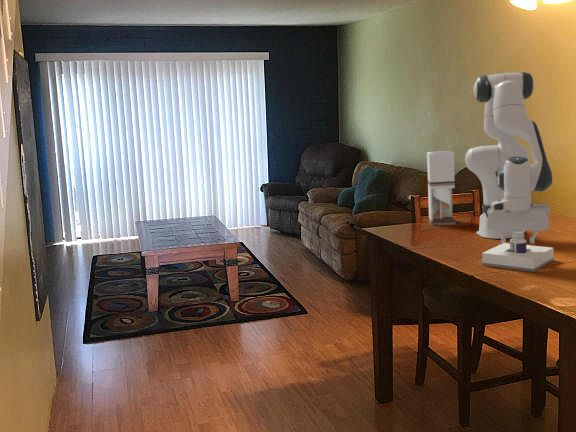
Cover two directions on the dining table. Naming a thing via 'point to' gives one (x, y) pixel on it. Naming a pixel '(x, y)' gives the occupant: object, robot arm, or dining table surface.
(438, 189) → the white dispenser
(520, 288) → the dining table surface
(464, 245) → the dining table surface
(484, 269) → the dining table surface
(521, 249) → the pill bottle
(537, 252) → the socket holder
